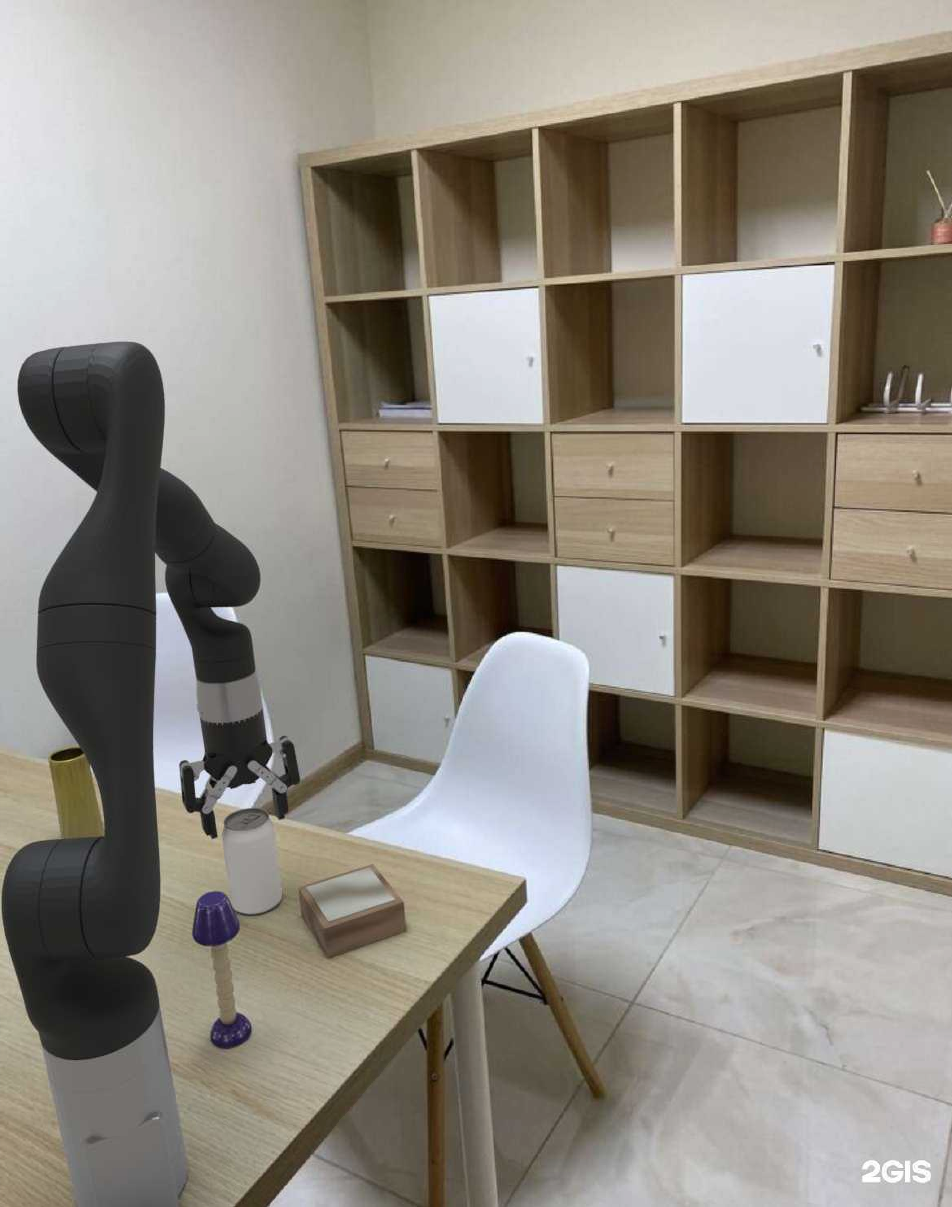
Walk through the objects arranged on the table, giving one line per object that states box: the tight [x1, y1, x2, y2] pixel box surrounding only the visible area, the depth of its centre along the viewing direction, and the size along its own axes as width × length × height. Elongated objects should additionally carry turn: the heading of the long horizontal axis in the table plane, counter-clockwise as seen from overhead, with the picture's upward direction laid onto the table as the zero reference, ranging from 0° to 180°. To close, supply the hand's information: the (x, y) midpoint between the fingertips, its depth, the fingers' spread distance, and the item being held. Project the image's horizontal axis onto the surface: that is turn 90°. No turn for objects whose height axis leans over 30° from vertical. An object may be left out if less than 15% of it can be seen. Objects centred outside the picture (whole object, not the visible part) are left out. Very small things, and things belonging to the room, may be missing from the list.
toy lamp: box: [191, 890, 253, 1049], centre depth 98 cm, size 5×5×17 cm
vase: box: [48, 745, 104, 839], centre depth 140 cm, size 6×6×14 cm
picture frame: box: [297, 863, 407, 959], centre depth 118 cm, size 10×10×4 cm
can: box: [221, 807, 283, 916], centre depth 123 cm, size 6×6×12 cm
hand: (247, 826), depth 122 cm, fingers open, 8 cm apart
